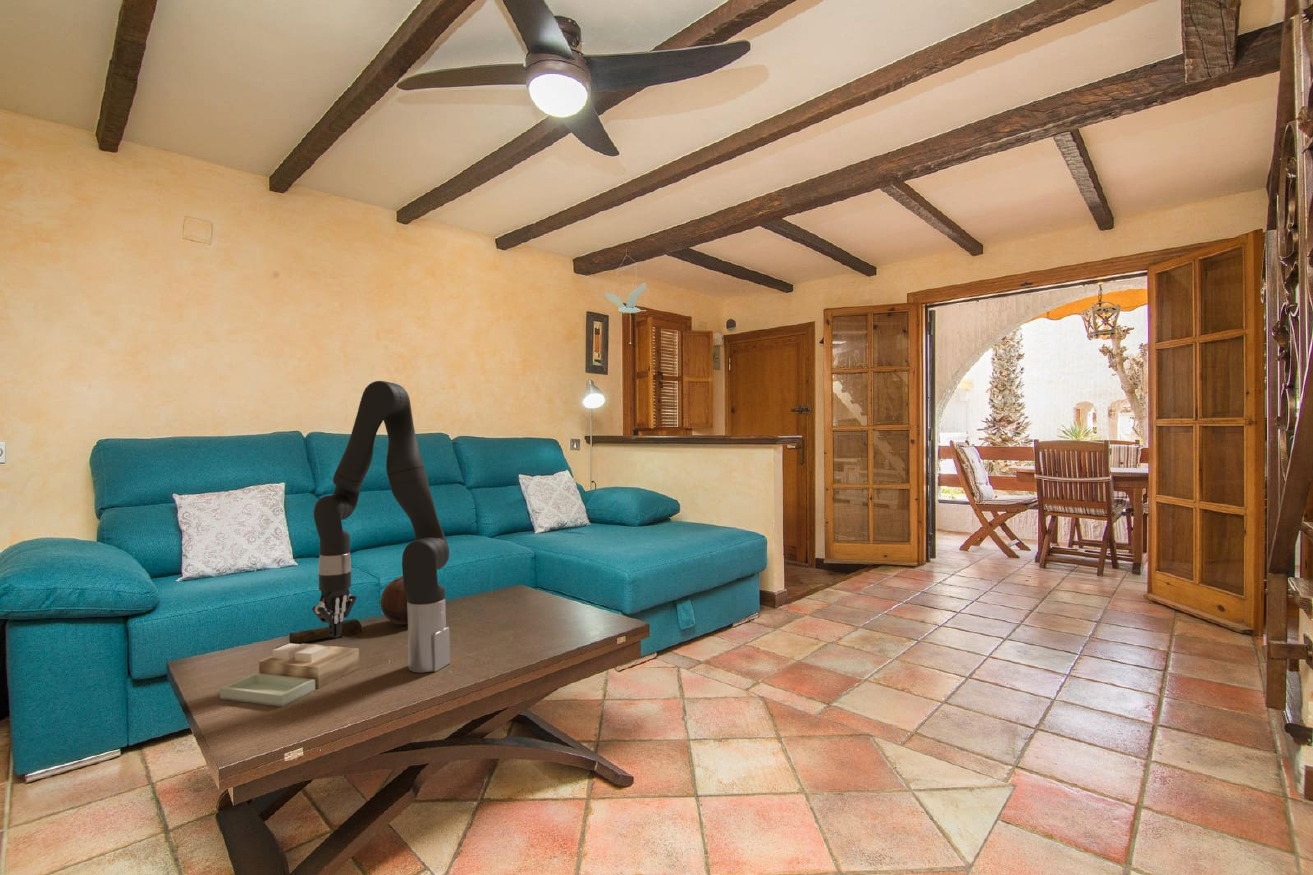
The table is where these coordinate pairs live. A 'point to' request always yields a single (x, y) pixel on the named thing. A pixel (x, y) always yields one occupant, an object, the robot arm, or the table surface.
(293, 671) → the light wood flat block
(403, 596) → the wooden sphere
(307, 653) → the tile near
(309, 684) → the tray
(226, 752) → the table surface
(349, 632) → the hand tool
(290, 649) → the tile far
